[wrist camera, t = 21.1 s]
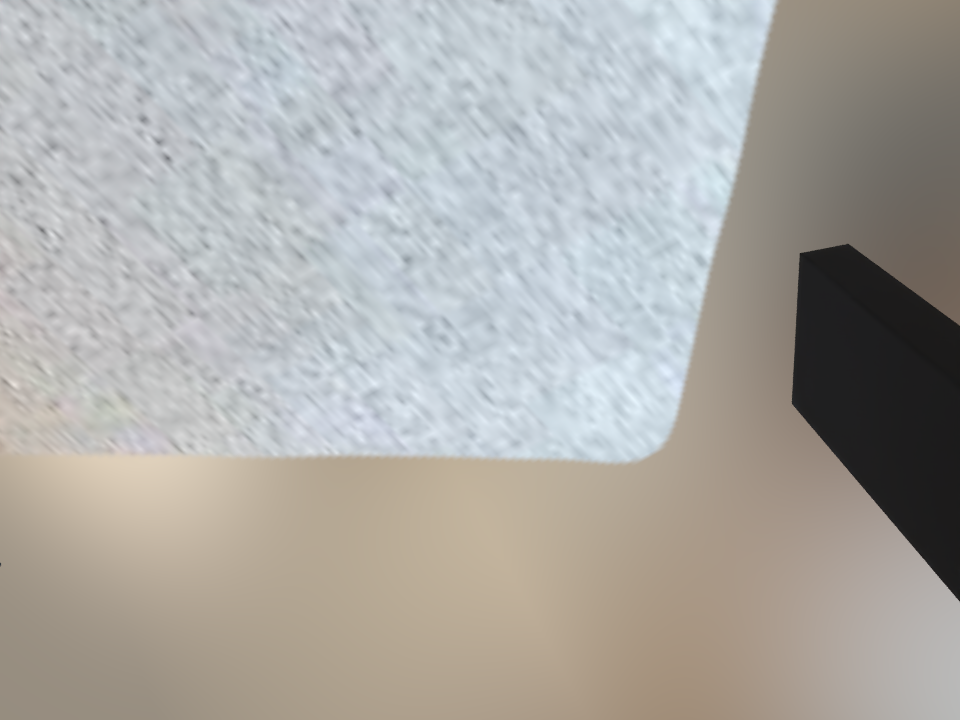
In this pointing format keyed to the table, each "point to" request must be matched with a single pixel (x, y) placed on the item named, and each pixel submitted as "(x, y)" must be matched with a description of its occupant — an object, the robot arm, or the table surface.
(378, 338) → the table surface
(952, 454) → the robot arm
